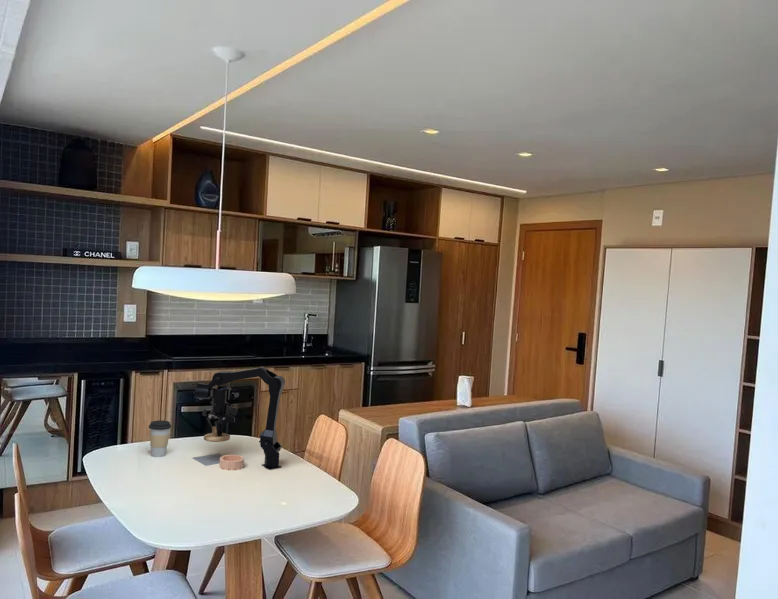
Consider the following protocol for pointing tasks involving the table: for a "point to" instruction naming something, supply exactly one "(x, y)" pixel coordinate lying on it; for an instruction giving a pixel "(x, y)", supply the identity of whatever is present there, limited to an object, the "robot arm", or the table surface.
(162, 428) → the coffee cup
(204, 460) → the mat
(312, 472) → the table surface
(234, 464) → the bowl
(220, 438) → the lid
